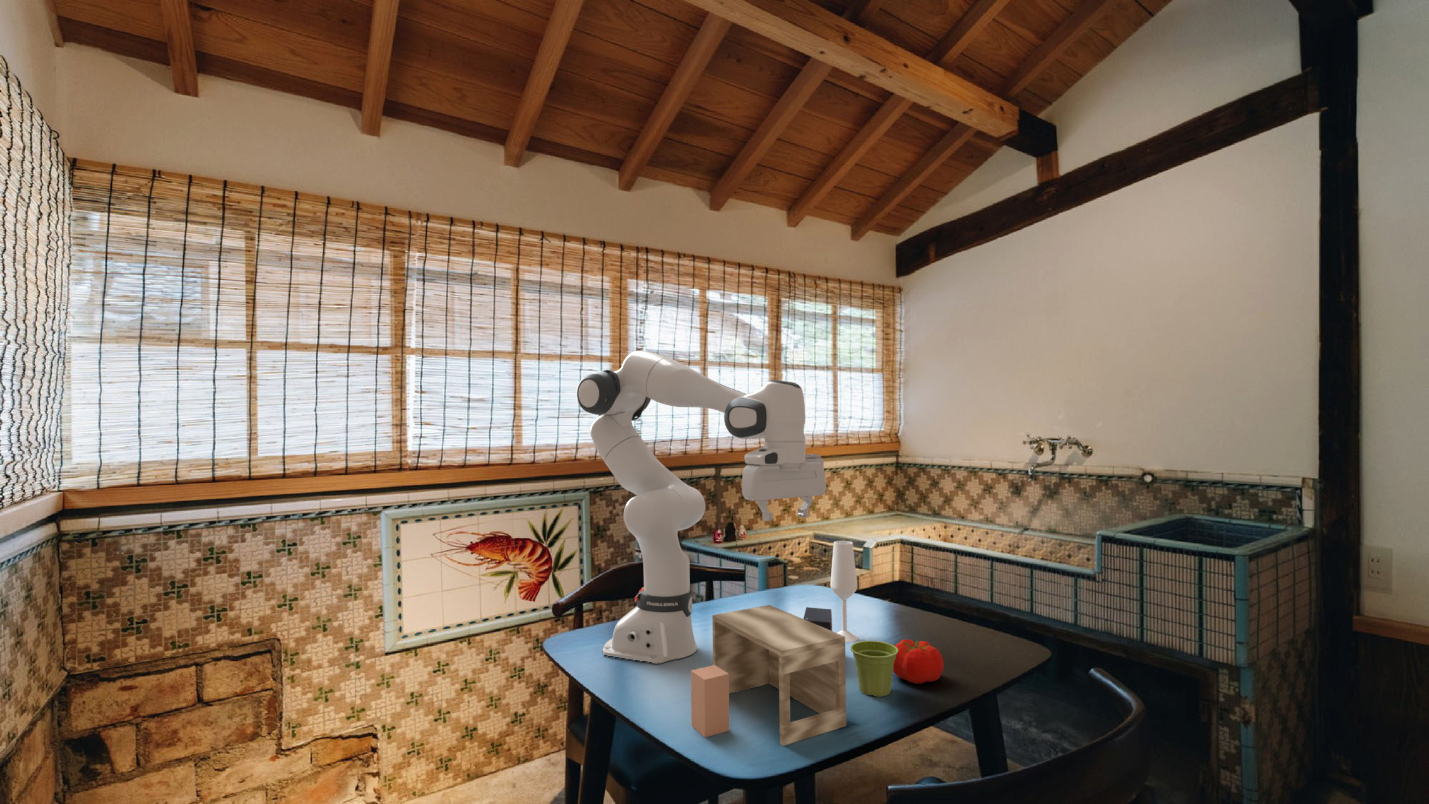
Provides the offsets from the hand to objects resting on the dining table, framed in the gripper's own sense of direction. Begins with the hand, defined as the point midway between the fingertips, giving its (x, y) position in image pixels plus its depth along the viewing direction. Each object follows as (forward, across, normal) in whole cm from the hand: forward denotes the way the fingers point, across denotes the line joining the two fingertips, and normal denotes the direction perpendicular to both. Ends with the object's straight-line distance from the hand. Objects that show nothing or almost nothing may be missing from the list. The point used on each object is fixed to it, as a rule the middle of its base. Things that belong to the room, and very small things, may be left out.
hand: (785, 518), depth 142 cm
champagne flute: (+34, -28, -13) cm, 46 cm away
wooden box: (+34, +11, +12) cm, 38 cm away
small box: (+34, -12, -5) cm, 37 cm away
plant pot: (+34, -11, +15) cm, 39 cm away
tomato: (+34, -23, +15) cm, 44 cm away
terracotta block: (+34, +26, +12) cm, 44 cm away
